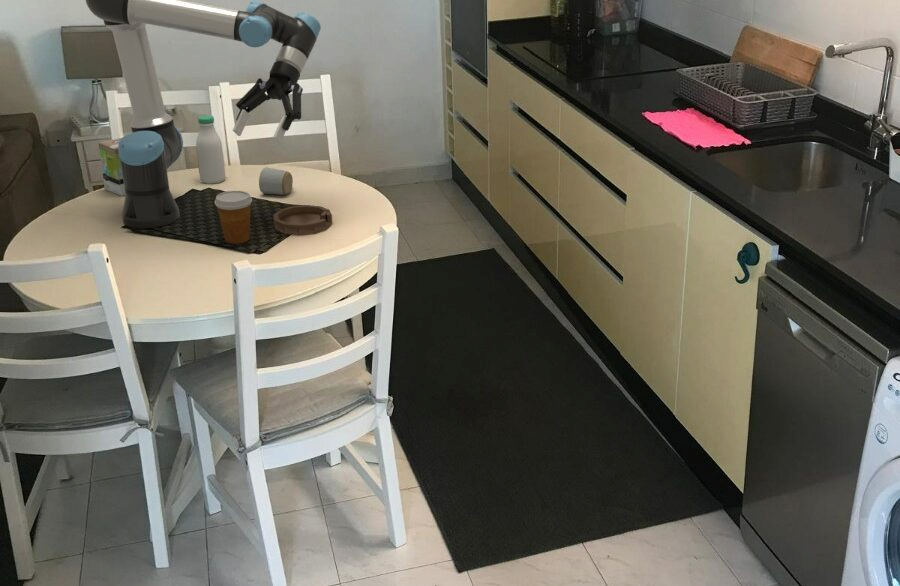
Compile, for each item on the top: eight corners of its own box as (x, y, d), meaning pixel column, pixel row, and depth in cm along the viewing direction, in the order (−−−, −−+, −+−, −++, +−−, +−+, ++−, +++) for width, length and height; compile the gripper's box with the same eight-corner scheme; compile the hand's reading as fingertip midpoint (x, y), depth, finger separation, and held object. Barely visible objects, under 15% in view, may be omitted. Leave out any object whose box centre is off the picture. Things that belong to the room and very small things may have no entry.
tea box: (122, 197, 284) (114, 148, 278) (104, 189, 290) (96, 142, 284) (166, 184, 294) (160, 137, 288) (148, 177, 300) (141, 131, 294)
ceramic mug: (285, 198, 282) (283, 173, 279) (259, 196, 284) (257, 171, 281) (299, 187, 291) (297, 163, 288) (273, 185, 293) (272, 161, 290)
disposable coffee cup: (212, 244, 250) (207, 200, 245) (229, 231, 258) (224, 188, 253) (245, 247, 248) (241, 203, 243) (262, 234, 256) (257, 191, 251)
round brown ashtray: (277, 237, 254) (276, 227, 253) (271, 217, 267) (271, 208, 266) (335, 231, 258) (335, 221, 256) (327, 212, 271) (326, 203, 270)
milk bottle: (230, 180, 298) (224, 116, 289) (209, 186, 293) (202, 121, 284) (216, 174, 303) (209, 112, 294) (195, 180, 298) (187, 117, 289)
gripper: (332, 80, 254) (301, 150, 248) (258, 71, 265) (227, 137, 260) (318, 64, 247) (286, 135, 242) (244, 55, 259) (212, 123, 253)
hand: (256, 136), depth 251 cm, fingers open, 13 cm apart
